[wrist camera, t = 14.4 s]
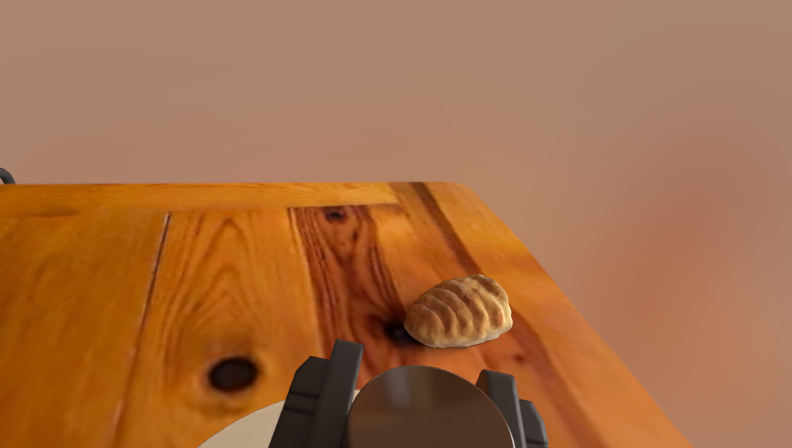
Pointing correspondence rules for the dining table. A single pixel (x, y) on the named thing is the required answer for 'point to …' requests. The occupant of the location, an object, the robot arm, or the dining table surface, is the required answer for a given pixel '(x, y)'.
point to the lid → (396, 415)
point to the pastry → (459, 313)
